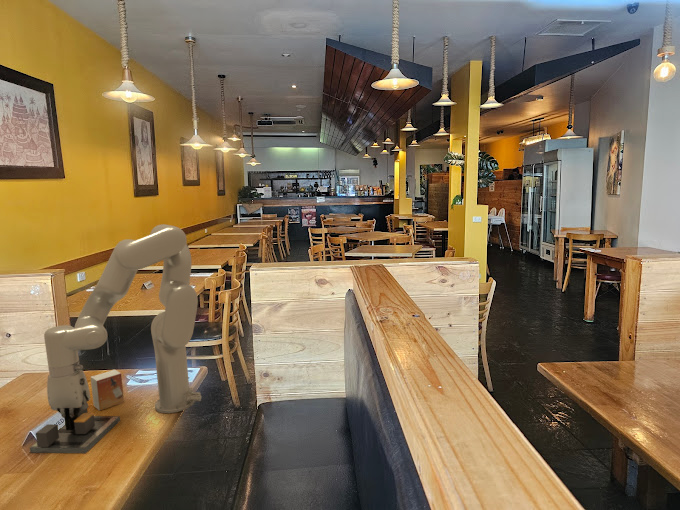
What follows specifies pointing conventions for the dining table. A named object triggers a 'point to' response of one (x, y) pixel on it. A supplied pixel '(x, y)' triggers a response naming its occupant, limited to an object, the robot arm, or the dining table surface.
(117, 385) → the small box
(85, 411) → the breaker
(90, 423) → the block
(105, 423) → the panel
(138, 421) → the dining table surface
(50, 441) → the block
